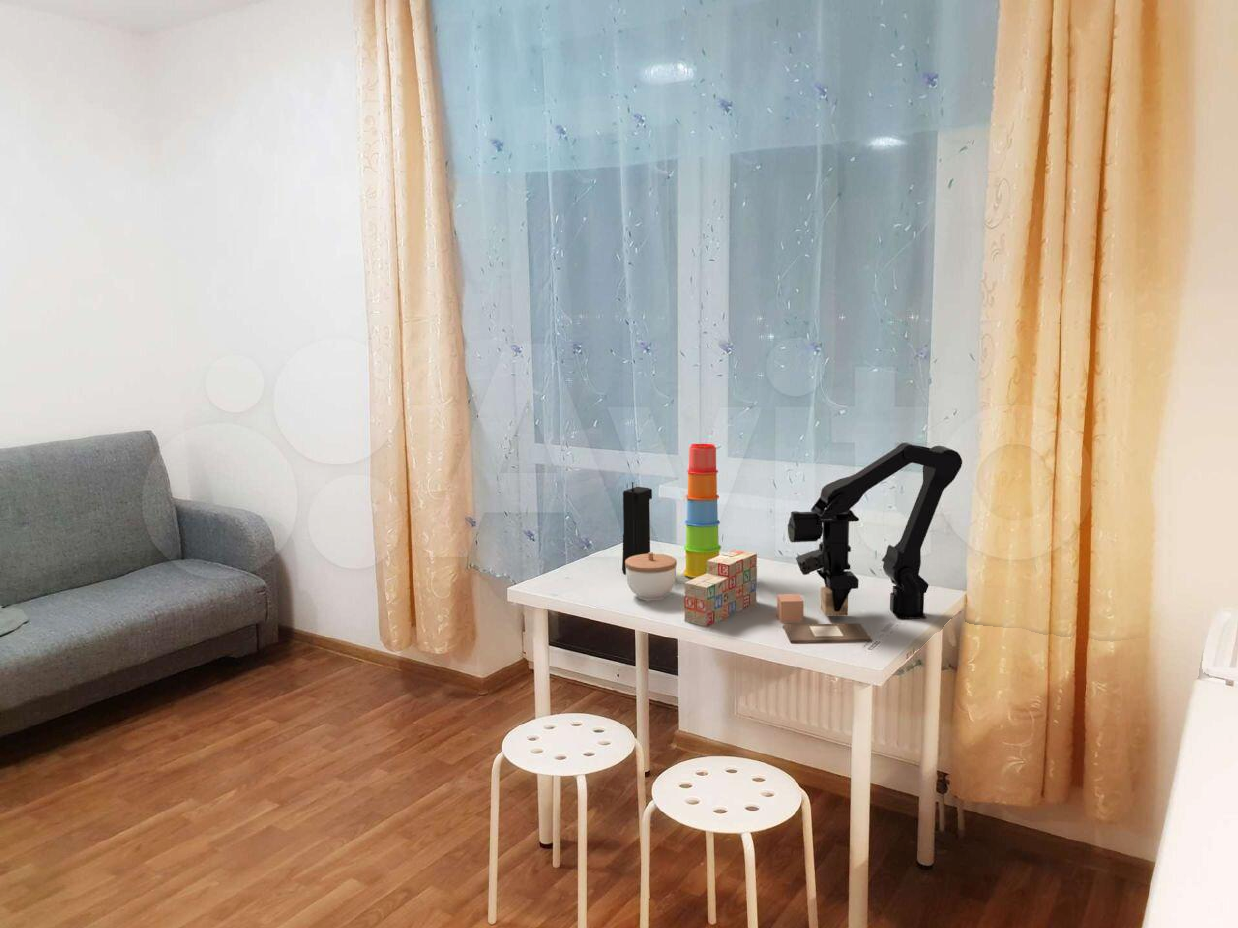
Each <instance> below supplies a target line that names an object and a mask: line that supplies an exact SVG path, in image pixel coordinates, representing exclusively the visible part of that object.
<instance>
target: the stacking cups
mask: <svg viewBox="0 0 1238 928" xmlns="http://www.w3.org/2000/svg"><path fill="white" fill-rule="evenodd" d="M715 446H716V445H715V444H712V443H691V444H690V447H689V449H688V469H687V470H686V473H687V494H686V495H685V498H686V520H685V521H684V524H685V526H686V528H685V534H686V535H685V537H686V538H685V539H686V540H685V541H686V543H685V545H684V546H683V550H684V551H685V570H683V575H684V576H685V577H687V578H690V579H694V578H697V577H699V576H702V575H704V574H707V561H708V560H710V559H712V558H715V557H717V556H719V555H720V550H721V549H722V546H721V545H719V524H720V523H721V522H720V520H719V519H718V518H719V517H718V515H719V513H718V512H719V511H718V499H719V498H720V496H719V494H718V488H717V486H718V482H717V479H718V478H717V477H718V476H717V475H718V472H719V471H718V469H717V447H715Z"/></svg>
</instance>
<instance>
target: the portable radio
mask: <svg viewBox="0 0 1238 928" xmlns="http://www.w3.org/2000/svg"><path fill="white" fill-rule="evenodd" d="M630 483H631V488H629V489H626V490H623V492H622V520H623V523H622V524H623V525H622V527H623V532H622V533H623V534H622V563H621V565H622V566H621V571H622V573H623V574H625V575H626V566H625V560H626V559H627V558H629V557H631V556H635V555H640V554H648V553H649V552H651V535H650V534H651V531H650V530H651V528H650V527H651V526H650V525H651V524H650V521H651V520H650V518H651V517H650V514H651V512H650V500H652V499H653V489H652V488H649V487H644V486H643V487H642V486H636V487H634V482H632V481H631V482H630Z"/></svg>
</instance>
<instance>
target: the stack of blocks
mask: <svg viewBox="0 0 1238 928" xmlns="http://www.w3.org/2000/svg"><path fill="white" fill-rule="evenodd" d="M757 559H758V554H757V553H755V552H750V551H745V550H744V551H743V550H738V549H733V550H731V551H726V552H723V553H721V554H719V556H717V557H715V558H712V559H710V560H708V561H707V574H704V575H702V576H699V577H697V578H691V579H690V580H688V581H685V582H684V596H683V597H684V598H683V599H684V602H683V604H684V605H683V607H684V612H683V613H684V614H683V615H684V622H688V623H692V624H696V625H698V626H699V625H700V626H703V627H708V626H710V625H712V624H713V623H717V622H719V621H721V620H723V619H725V618H727V617H730V616H731V615H733V614H735V613H736V612H738V611H740V610H743V609H745V608H747V607H749V606H752V605H753V604H756V603H757V595H758V594H757V592H758V591H757V590H758V589H757V583H758V582H757V578H758V565H757V564H758V563H757V561H758V560H757Z"/></svg>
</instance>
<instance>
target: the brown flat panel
mask: <svg viewBox="0 0 1238 928" xmlns="http://www.w3.org/2000/svg"><path fill="white" fill-rule="evenodd" d="M782 628H783V630H784V631H785V634H786V636H787V638H788V640H789V642H790V644H799V643H800V644H803V643H804V644H806V643H807V644H810V643H814V644H815V643H866V642H867V643H870V642H871V643H872V640H873V639H872V638H871V636H870V635H869V633H868V632H867V631H866V629H865V628H864V626H863V625H862V623H860V622H857V623H855V622H853V623H798V624H797V623H793V624H792V623H790V624H788V623H785V624H782Z"/></svg>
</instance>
